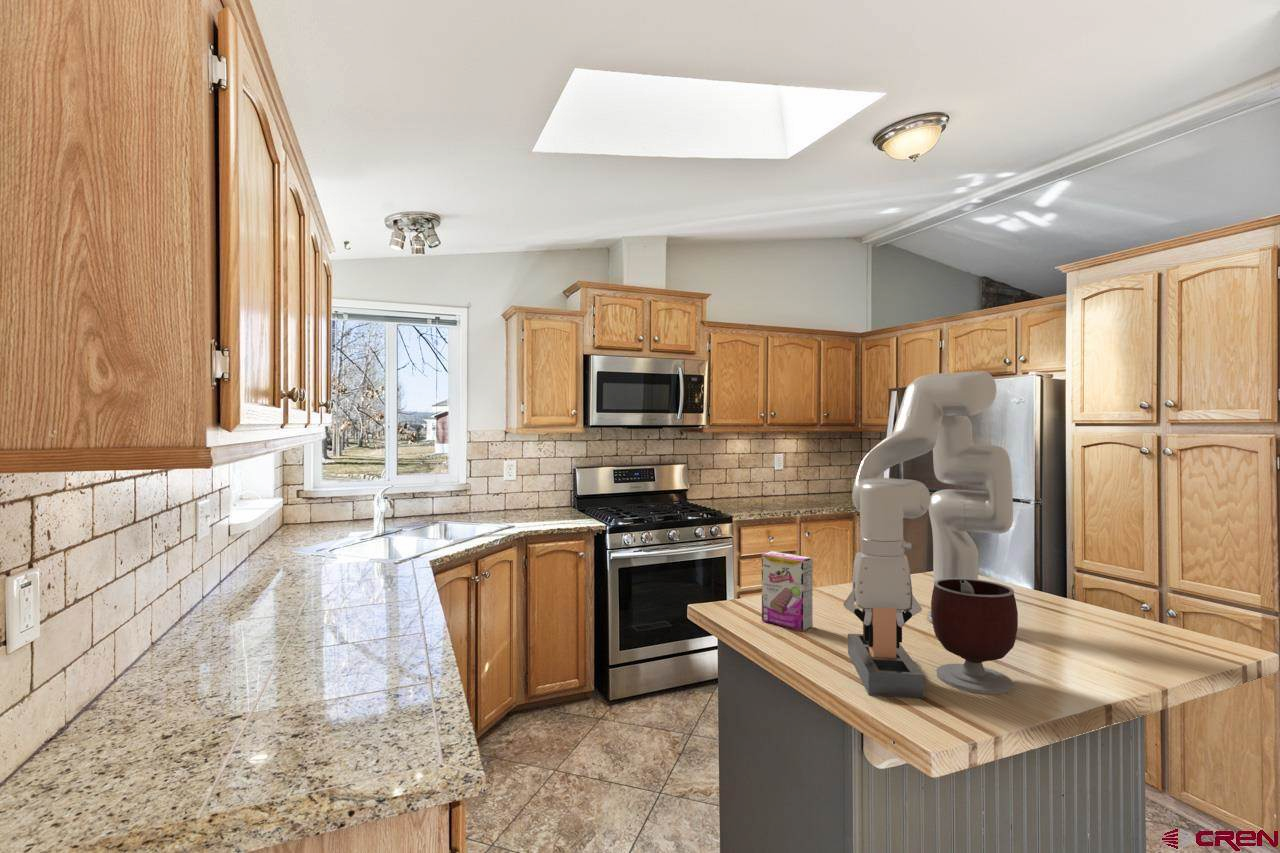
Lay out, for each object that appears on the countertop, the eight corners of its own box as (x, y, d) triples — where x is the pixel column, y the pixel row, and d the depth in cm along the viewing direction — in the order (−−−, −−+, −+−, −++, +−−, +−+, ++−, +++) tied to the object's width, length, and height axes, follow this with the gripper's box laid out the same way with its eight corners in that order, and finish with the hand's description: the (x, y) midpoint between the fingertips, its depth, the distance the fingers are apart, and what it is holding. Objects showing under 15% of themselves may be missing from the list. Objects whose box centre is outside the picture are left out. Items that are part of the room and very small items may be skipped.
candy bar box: (760, 621, 143) (760, 553, 144) (771, 617, 147) (771, 550, 147) (803, 632, 136) (802, 560, 136) (813, 627, 140) (813, 556, 140)
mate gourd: (941, 659, 119) (940, 559, 119) (1023, 677, 110) (1022, 569, 111) (920, 685, 107) (919, 573, 108) (1010, 707, 98) (1009, 585, 99)
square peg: (891, 663, 114) (890, 595, 114) (896, 672, 110) (896, 601, 110) (869, 662, 115) (868, 594, 115) (873, 670, 111) (873, 600, 111)
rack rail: (894, 655, 121) (894, 635, 121) (924, 698, 102) (923, 675, 102) (848, 653, 123) (847, 633, 123) (868, 695, 103) (868, 671, 103)
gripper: (922, 545, 115) (923, 640, 115) (832, 543, 118) (833, 636, 118) (935, 553, 108) (936, 655, 107) (838, 550, 110) (839, 650, 110)
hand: (882, 644), depth 112 cm, fingers closed on square peg, 3 cm apart
